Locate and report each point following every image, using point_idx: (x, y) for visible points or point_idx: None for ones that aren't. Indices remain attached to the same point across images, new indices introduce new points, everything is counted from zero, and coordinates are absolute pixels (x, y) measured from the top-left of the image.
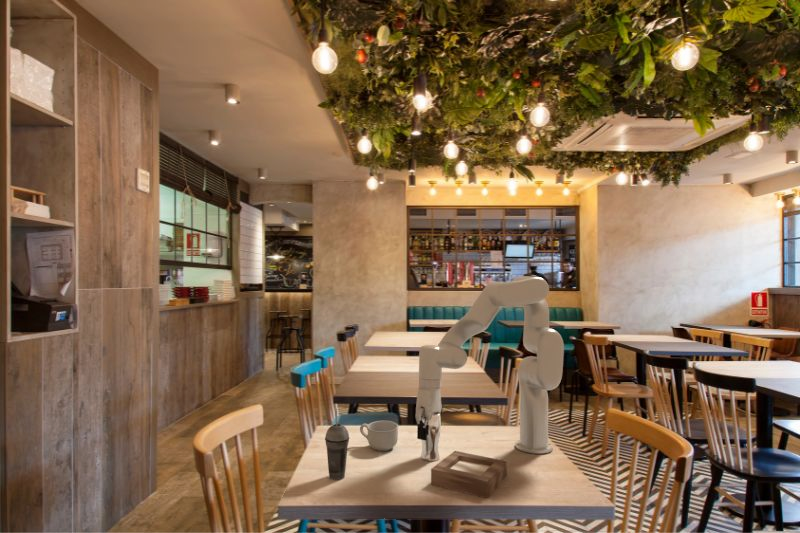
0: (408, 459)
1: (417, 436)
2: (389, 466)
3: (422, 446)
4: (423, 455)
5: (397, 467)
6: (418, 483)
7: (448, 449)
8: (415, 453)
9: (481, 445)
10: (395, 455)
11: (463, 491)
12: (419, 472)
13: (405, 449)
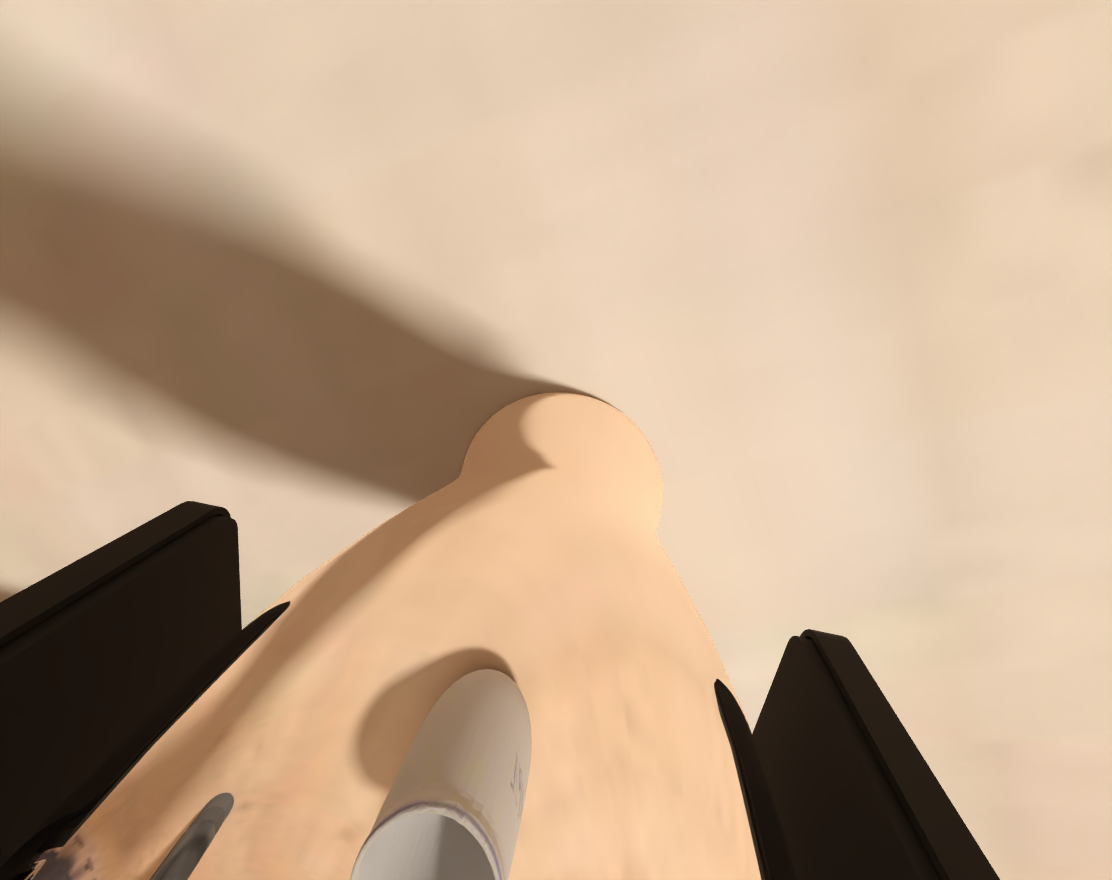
0: (427, 273)
1: (162, 518)
2: (144, 132)
3: (475, 464)
4: (468, 453)
5: (170, 236)
6: (6, 528)
7: (885, 613)
8: (645, 290)
9: (1080, 876)
10: (484, 46)
11: None
12: (186, 482)
13: (757, 94)
